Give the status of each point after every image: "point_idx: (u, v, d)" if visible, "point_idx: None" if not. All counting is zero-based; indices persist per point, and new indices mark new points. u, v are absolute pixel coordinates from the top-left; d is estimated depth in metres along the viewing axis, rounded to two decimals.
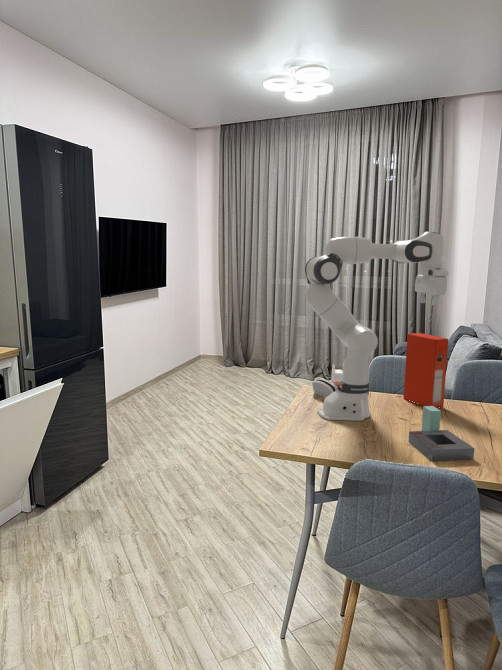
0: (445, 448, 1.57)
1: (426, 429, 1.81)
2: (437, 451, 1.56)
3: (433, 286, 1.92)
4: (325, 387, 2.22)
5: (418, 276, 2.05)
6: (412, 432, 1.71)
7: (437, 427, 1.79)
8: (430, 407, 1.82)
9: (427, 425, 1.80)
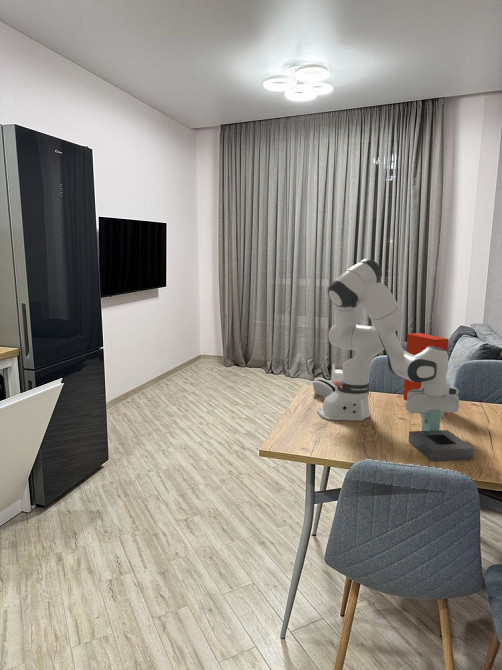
0: (445, 448, 1.57)
1: (426, 429, 1.81)
2: (437, 451, 1.56)
3: (450, 404, 1.79)
4: (325, 387, 2.21)
5: (418, 396, 1.77)
6: (412, 432, 1.71)
7: (437, 427, 1.79)
8: None
9: (427, 425, 1.80)
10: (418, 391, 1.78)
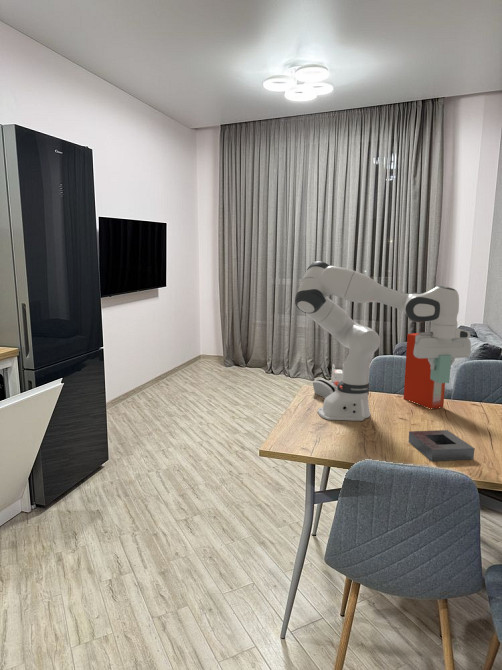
0: (445, 448, 1.57)
1: (435, 376, 1.69)
2: (437, 451, 1.56)
3: (461, 349, 1.67)
4: (325, 387, 2.21)
5: (426, 339, 1.65)
6: (412, 432, 1.71)
7: (447, 373, 1.67)
8: None
9: (436, 371, 1.68)
10: (427, 334, 1.66)
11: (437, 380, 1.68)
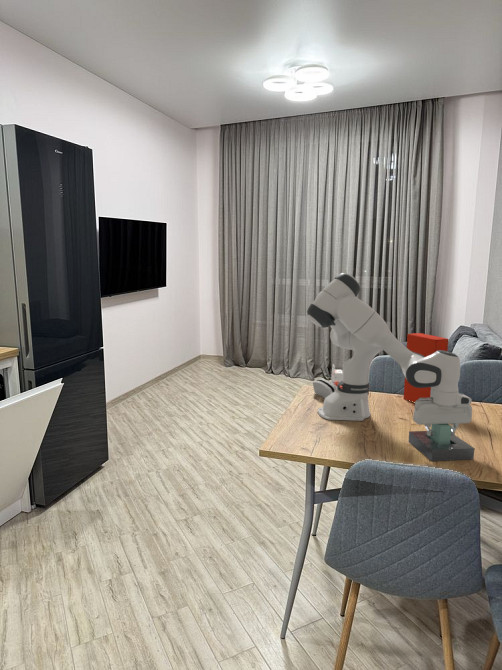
0: (445, 448, 1.57)
1: None
2: (437, 451, 1.56)
3: (462, 414, 1.63)
4: (324, 387, 2.21)
5: (426, 406, 1.60)
6: (412, 432, 1.71)
7: None
8: None
9: (436, 441, 1.64)
10: (427, 400, 1.61)
11: None
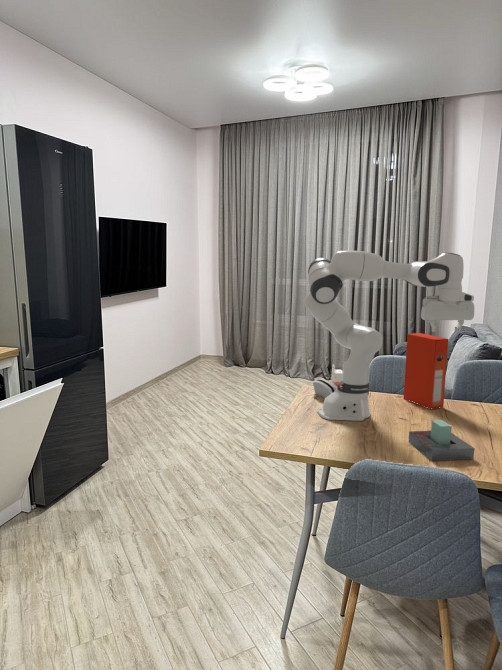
0: (445, 448, 1.57)
1: None
2: (437, 451, 1.56)
3: (465, 312, 1.79)
4: (324, 387, 2.21)
5: (433, 302, 1.77)
6: (412, 432, 1.71)
7: None
8: (439, 422, 1.65)
9: (436, 441, 1.64)
10: (433, 298, 1.78)
11: None
